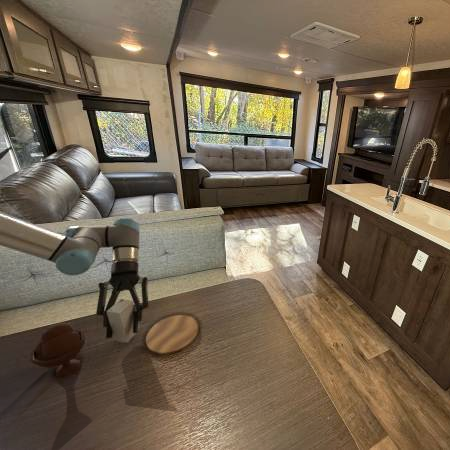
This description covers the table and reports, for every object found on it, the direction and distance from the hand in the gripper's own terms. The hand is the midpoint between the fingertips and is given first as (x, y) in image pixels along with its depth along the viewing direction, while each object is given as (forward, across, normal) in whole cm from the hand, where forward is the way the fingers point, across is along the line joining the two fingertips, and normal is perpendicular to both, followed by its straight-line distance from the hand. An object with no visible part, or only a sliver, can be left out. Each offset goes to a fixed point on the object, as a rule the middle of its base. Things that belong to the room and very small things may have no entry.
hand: (122, 335), depth 76 cm
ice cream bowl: (+6, +13, -1) cm, 15 cm away
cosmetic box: (0, 0, -5) cm, 5 cm away
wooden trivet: (+3, -14, -5) cm, 15 cm away
